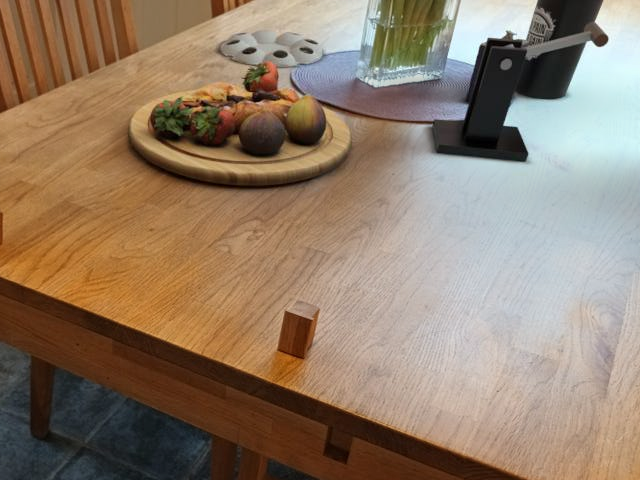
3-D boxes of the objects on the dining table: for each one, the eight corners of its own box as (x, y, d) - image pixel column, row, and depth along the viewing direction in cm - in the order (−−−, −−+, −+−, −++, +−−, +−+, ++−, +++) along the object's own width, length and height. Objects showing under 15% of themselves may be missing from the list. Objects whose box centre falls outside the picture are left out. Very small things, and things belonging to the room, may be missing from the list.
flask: (504, 93, 122) (526, 25, 115) (517, 99, 119) (539, 30, 113) (460, 99, 119) (479, 31, 112) (472, 105, 117) (493, 36, 110)
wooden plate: (205, 88, 121) (207, 36, 116) (384, 132, 107) (396, 76, 102) (82, 149, 101) (79, 89, 96) (284, 213, 87) (293, 148, 82)
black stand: (515, 134, 107) (547, 37, 99) (525, 161, 100) (562, 58, 91) (432, 126, 109) (457, 30, 101) (436, 152, 102) (464, 51, 93)
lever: (597, 35, 96) (597, 17, 94) (608, 48, 91) (608, 29, 90) (489, 62, 101) (488, 45, 99) (495, 76, 96) (493, 58, 95)
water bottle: (496, 81, 126) (542, -70, 112) (551, 79, 127) (604, -70, 113) (525, 101, 119) (579, -58, 104) (583, 99, 120) (644, -58, 105)
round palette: (199, 51, 137) (200, 40, 136) (258, 31, 149) (259, 20, 148) (285, 74, 128) (287, 62, 126) (341, 50, 139) (343, 39, 138)
